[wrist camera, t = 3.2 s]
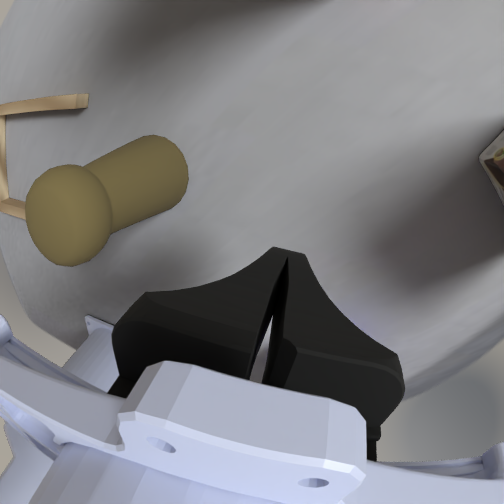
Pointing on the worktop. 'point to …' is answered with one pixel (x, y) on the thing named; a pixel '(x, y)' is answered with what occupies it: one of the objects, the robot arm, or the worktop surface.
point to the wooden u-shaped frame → (3, 202)
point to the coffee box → (495, 164)
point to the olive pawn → (103, 198)
